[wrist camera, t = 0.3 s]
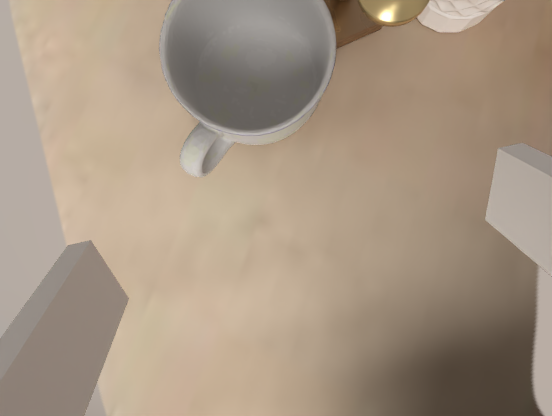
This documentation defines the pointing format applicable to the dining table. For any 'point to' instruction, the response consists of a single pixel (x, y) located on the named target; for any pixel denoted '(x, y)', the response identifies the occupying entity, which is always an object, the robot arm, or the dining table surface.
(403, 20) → the balance
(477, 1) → the white cup
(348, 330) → the dining table surface
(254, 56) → the teacup
